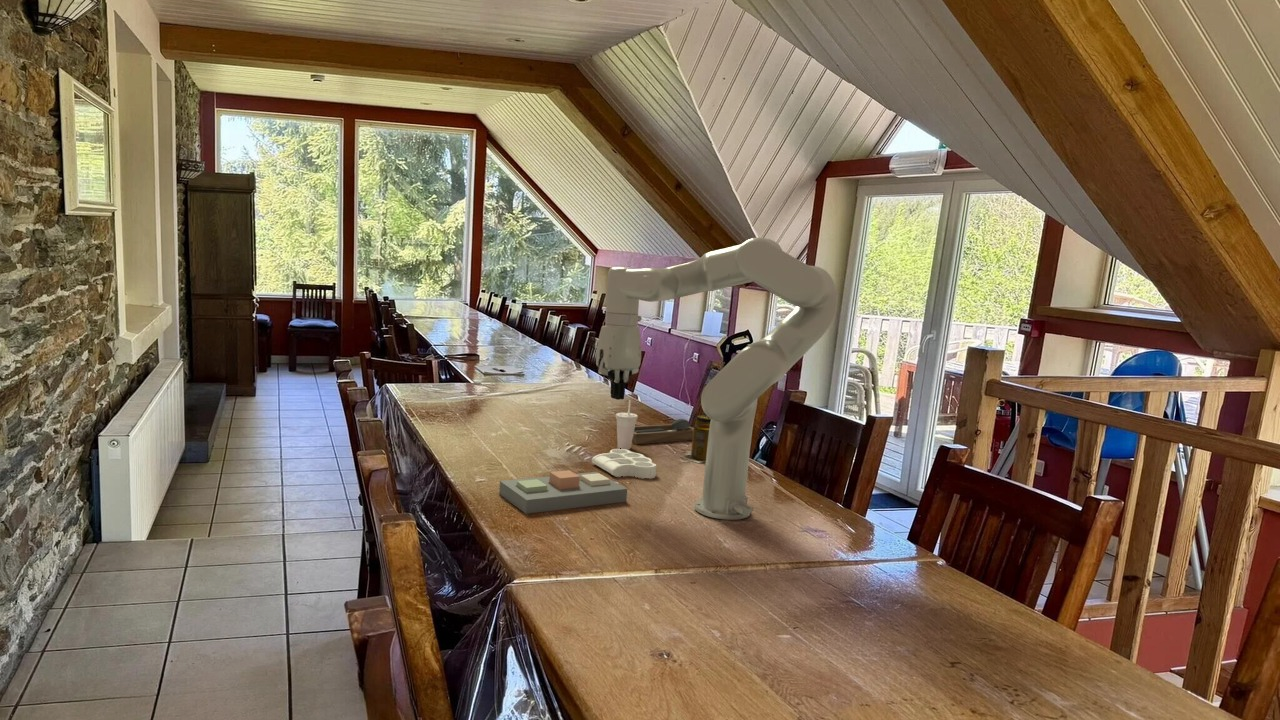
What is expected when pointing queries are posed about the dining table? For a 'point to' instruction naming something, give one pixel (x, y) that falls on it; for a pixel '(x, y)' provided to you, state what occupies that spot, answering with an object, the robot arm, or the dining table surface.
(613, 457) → the white paint palette
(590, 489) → the button panel
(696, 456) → the condiment
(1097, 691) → the dining table surface
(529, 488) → the sage button
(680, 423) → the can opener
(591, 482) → the cream button
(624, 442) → the smoothie
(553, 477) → the terracotta button
